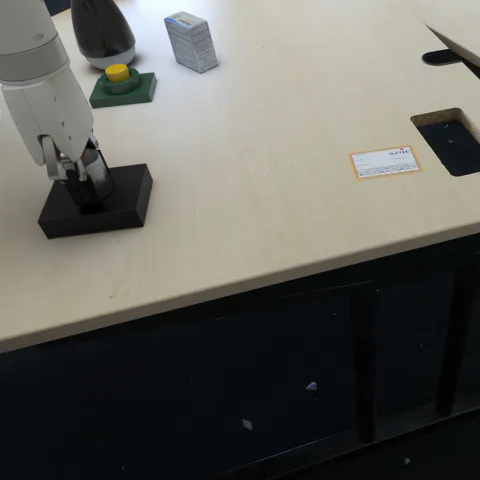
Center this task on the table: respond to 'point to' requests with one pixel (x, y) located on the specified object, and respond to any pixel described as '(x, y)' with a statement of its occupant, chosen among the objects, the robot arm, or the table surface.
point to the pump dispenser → (102, 32)
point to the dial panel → (99, 206)
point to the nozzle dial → (95, 171)
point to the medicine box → (191, 41)
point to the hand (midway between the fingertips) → (93, 188)
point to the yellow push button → (117, 72)
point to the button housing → (123, 90)
